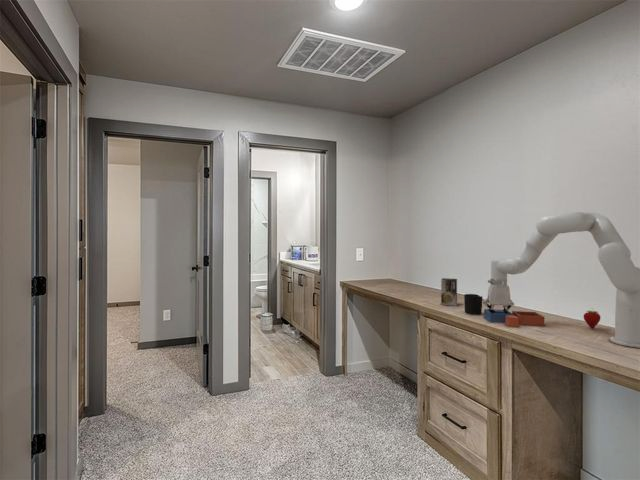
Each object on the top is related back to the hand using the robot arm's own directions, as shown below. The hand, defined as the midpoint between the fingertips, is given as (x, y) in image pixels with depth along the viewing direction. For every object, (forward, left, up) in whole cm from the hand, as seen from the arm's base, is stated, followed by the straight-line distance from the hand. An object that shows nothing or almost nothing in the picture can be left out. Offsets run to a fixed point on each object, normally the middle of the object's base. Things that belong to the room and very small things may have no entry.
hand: (498, 317), depth 192 cm
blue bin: (0, 0, -1) cm, 1 cm away
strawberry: (-39, +9, -2) cm, 40 cm away
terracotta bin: (-13, +3, -1) cm, 13 cm away
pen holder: (+9, -15, -2) cm, 18 cm away
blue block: (0, 0, -1) cm, 1 cm away
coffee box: (+18, -38, -2) cm, 42 cm away
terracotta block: (-3, +11, -1) cm, 11 cm away
